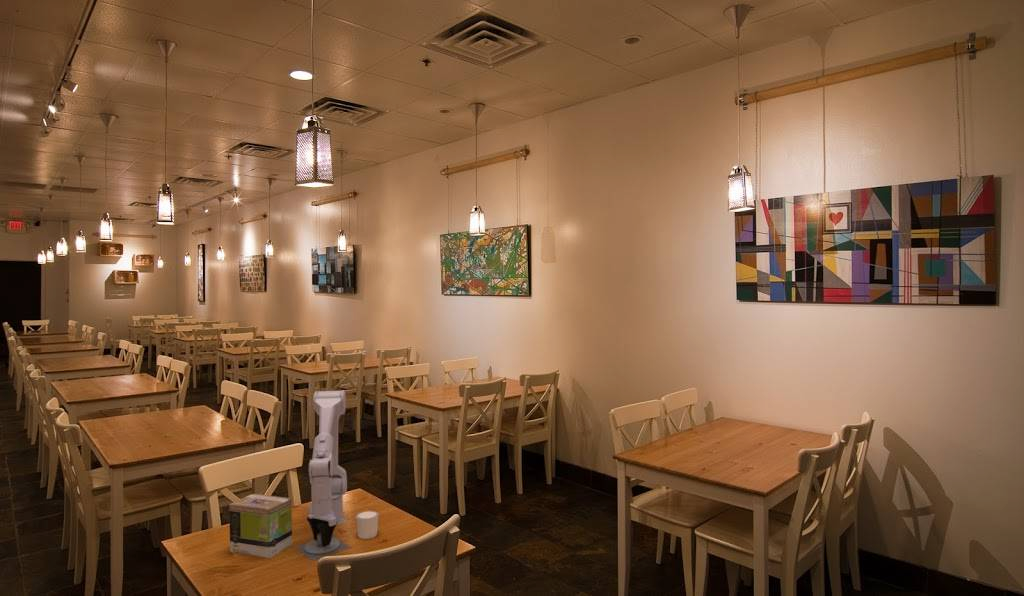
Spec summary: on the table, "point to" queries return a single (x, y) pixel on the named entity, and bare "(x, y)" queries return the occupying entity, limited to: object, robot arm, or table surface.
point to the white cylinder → (367, 524)
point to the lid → (321, 546)
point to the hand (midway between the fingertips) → (322, 542)
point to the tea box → (260, 525)
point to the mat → (313, 557)
